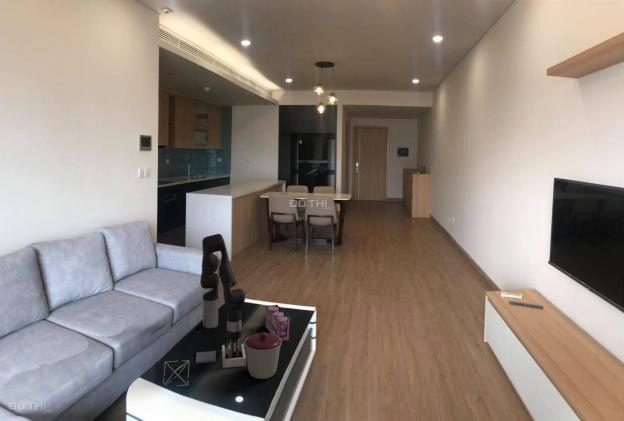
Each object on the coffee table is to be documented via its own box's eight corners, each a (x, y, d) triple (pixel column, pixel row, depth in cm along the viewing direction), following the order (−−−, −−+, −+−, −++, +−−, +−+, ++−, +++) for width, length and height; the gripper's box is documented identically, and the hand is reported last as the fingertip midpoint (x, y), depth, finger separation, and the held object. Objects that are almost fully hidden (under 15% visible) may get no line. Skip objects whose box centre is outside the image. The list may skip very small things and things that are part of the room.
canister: (265, 388, 184) (266, 344, 181) (235, 375, 193) (236, 334, 191) (288, 371, 199) (289, 330, 196) (259, 360, 209) (260, 321, 206)
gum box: (290, 341, 232) (290, 318, 230) (277, 343, 229) (277, 320, 227) (277, 325, 254) (277, 304, 252) (265, 326, 251) (265, 305, 249)
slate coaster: (196, 354, 213) (196, 352, 213) (215, 352, 215) (215, 351, 215) (195, 363, 203) (195, 361, 203) (216, 361, 206) (216, 360, 206)
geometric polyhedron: (167, 392, 178) (167, 373, 177) (158, 381, 186) (158, 363, 185) (194, 383, 186) (194, 364, 185) (184, 373, 194) (184, 355, 193)
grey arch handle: (222, 352, 216) (222, 345, 215) (243, 350, 218) (243, 343, 218) (222, 367, 200) (222, 360, 200) (245, 365, 203) (246, 358, 202)
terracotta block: (228, 353, 215) (228, 344, 214) (237, 352, 216) (237, 343, 216) (228, 358, 210) (228, 349, 210) (238, 357, 211) (238, 348, 211)
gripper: (226, 323, 209) (226, 354, 212) (227, 334, 197) (226, 367, 199) (240, 322, 211) (240, 353, 213) (242, 333, 198) (242, 366, 201)
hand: (233, 360), depth 206 cm, fingers closed
